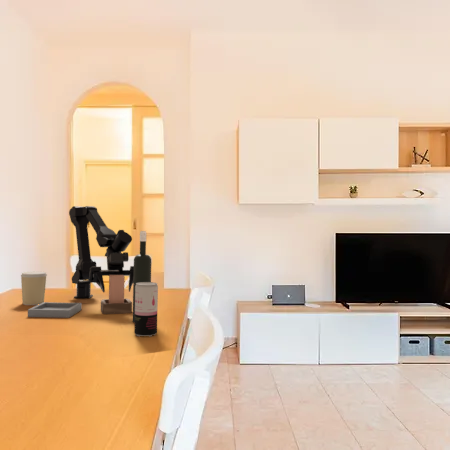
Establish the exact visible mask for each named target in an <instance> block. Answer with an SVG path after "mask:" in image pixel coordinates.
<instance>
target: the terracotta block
mask: <svg viewBox="0 0 450 450" xmlns="http://www.w3.org/2000/svg"><path fill="white" fill-rule="evenodd" d="M125 277H126V276H124V275H109V276H108V299H109V304H110V303H124V299H125V280H126V279H125Z"/></svg>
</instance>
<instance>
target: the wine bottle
mask: <svg viewBox="0 0 450 450" xmlns="http://www.w3.org/2000/svg"><path fill="white" fill-rule="evenodd" d="M133 266H134V275H133V284H132V323H134V324H135V286H136V283H139V282H152V257H151V256H150V255H149V254H147V230H140V231H139V254H137V255H135V256H134V258H133Z"/></svg>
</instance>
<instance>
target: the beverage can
mask: <svg viewBox="0 0 450 450" xmlns="http://www.w3.org/2000/svg"><path fill="white" fill-rule="evenodd" d="M158 297H159V285H158V283H157V282H153V281H151V282H139V283H136V286H135V323H134V332H133V333H134V334H135V336H137V337H140V336H149V337H153V336H152V335H154V336H156V335H157V333H158V303H159V301H158V300H159V298H158Z"/></svg>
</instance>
